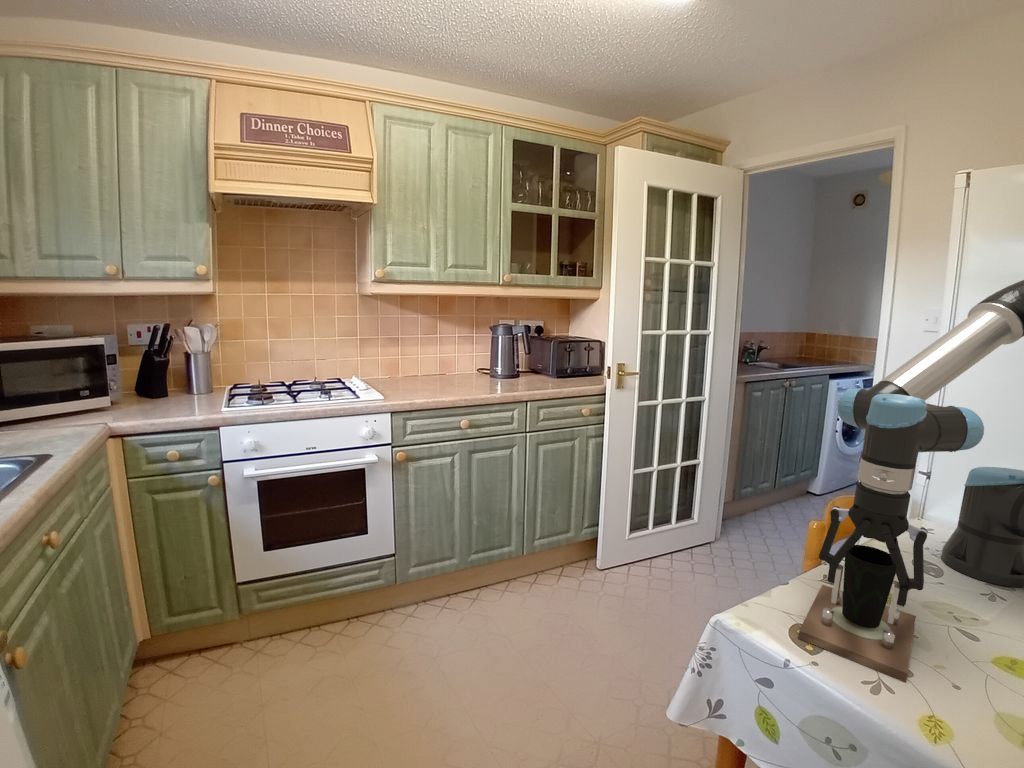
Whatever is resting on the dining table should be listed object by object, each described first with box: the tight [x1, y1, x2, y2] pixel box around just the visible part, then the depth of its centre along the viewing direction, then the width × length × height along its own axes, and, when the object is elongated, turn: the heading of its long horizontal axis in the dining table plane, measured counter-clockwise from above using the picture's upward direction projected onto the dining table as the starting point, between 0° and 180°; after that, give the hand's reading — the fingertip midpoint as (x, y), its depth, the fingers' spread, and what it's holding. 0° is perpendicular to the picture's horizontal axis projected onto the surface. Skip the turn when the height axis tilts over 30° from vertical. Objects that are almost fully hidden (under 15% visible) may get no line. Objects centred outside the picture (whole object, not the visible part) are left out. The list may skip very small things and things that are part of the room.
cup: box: [842, 544, 896, 628], centre depth 92 cm, size 8×8×12 cm
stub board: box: [797, 584, 917, 683], centre depth 93 cm, size 15×20×4 cm
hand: (862, 609), depth 93 cm, fingers closed on cup, 8 cm apart
